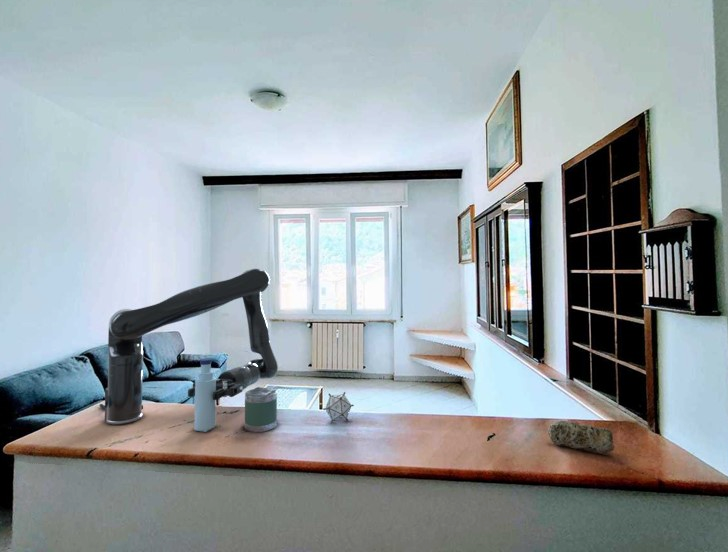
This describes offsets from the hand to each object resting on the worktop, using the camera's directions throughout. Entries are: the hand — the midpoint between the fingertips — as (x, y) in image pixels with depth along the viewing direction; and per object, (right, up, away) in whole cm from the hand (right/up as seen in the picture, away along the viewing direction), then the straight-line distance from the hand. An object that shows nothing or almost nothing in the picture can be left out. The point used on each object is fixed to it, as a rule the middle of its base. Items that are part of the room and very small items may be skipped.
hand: (201, 394), depth 113 cm
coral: (+101, -10, -12) cm, 102 cm away
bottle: (+1, -10, +1) cm, 10 cm away
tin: (+16, -10, +3) cm, 19 cm away
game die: (+39, -10, +7) cm, 41 cm away
